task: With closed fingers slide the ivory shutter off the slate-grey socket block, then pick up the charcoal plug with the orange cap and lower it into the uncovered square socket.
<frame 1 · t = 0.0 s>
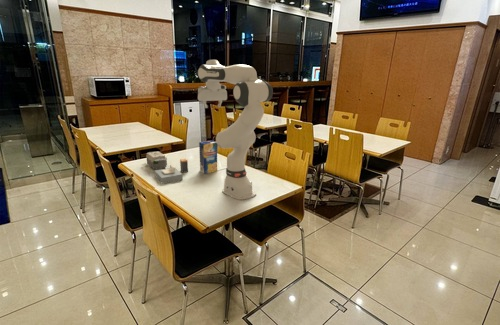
hand: (212, 107, 186), 48 cm above the table, fingers open, 8 cm apart
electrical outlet: (156, 166, 215), on the table
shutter: (168, 169, 191), point 6 cm above the table, slide at 0.0 cm
plug: (184, 171, 206), on the table
blue cracker box: (208, 171, 208), on the table
socket: (168, 177, 193), on the table
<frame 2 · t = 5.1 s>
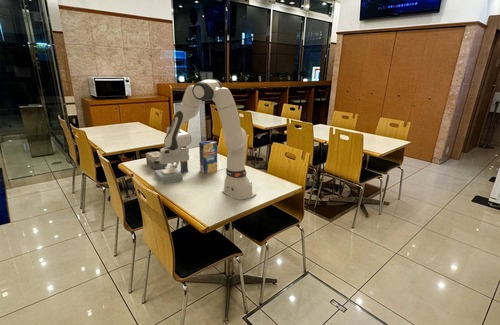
hand: (175, 168, 194), 6 cm above the table, fingers closed
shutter: (167, 169, 191), point 6 cm above the table, slide at 0.2 cm, touching gripper
everything else where it was.
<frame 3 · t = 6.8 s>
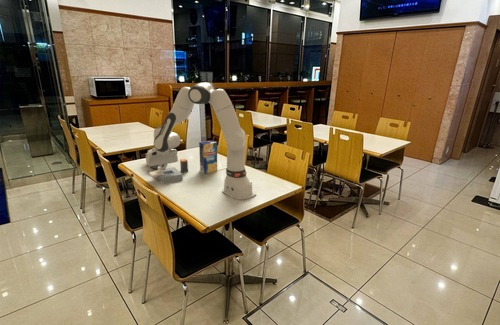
hand: (163, 170, 189), 6 cm above the table, fingers closed
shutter: (155, 171, 186), point 6 cm above the table, slide at 8.4 cm, touching gripper
everything else where it was.
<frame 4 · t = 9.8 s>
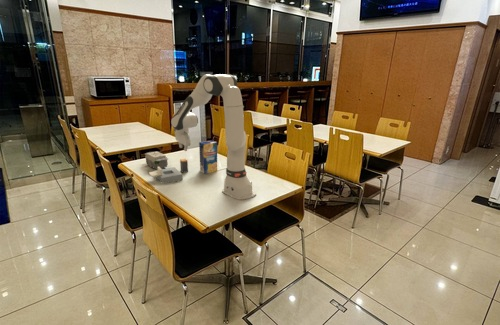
hand: (183, 149, 200), 17 cm above the table, fingers open, 8 cm apart
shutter: (155, 171, 186), point 6 cm above the table, slide at 8.7 cm
everything else where it was.
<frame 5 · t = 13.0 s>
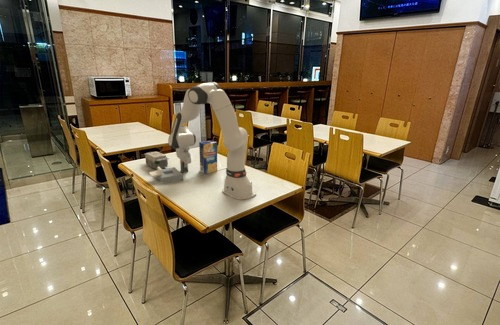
hand: (184, 166, 205), 4 cm above the table, fingers closed on plug, 4 cm apart
plug: (184, 171, 206), on the table, touching gripper
everything else where it was.
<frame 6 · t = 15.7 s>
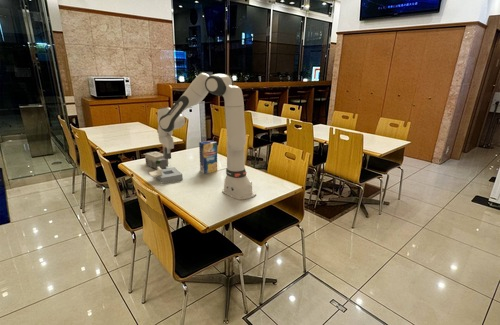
hand: (167, 152, 187), 18 cm above the table, fingers closed on plug, 4 cm apart
plug: (167, 158, 188), point 14 cm above the table, touching gripper
when the fingers open (6 cm above the table, at t = 18.9 s): plug stays where it is, resting on socket.
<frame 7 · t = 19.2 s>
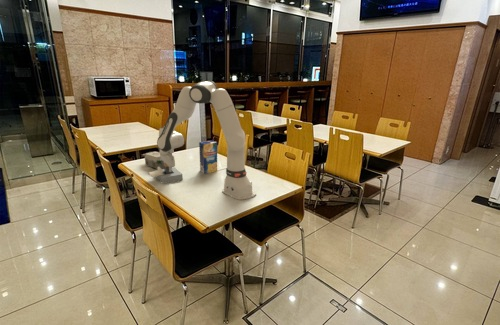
hand: (168, 169, 191), 6 cm above the table, fingers open, 7 cm apart
plug: (168, 176, 192), point 1 cm above the table, touching socket
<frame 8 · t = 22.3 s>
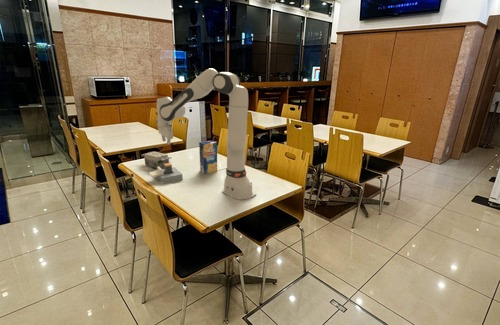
hand: (166, 142, 185), 25 cm above the table, fingers open, 8 cm apart
at the end: plug 0.1 cm off-centre on the socket, point 1.0 cm above the socket's base; plug tilted 0°; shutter slide at 8.7 cm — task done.
